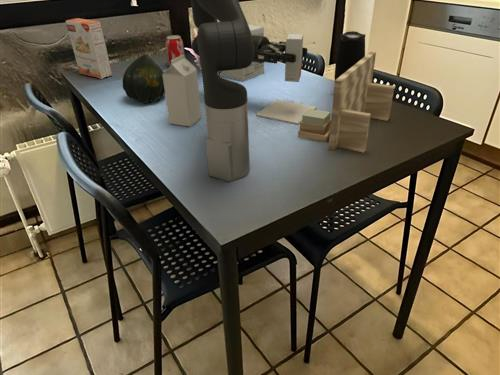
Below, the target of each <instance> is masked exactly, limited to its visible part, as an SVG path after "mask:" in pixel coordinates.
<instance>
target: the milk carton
mask: <svg viewBox="0 0 500 375" xmlns="http://www.w3.org/2000/svg"><path fill="white" fill-rule="evenodd" d="M163 72H164V73H163V74H162V75H163V82H164V89H165V94H164V95H165V100H166V107H167V114H168V120H169V124H171V125H175V126H176V125H177V126H184V127H192V126H193V125H194V124H196V123H197V122H198V121H199V120H200V119H202V109H201V100H200V90H199V81H198V80H199V79H198V70H197V68H196V67H195V66H194V65H193V64H192V63H191V62H190V61H189V60H188V59H187V58H186V55H185V53H184V54H183V55H181V56H179V57H177V58H175V59H173V60H171V66H168V67H167V69H166V70H164V71H163Z"/></svg>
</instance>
